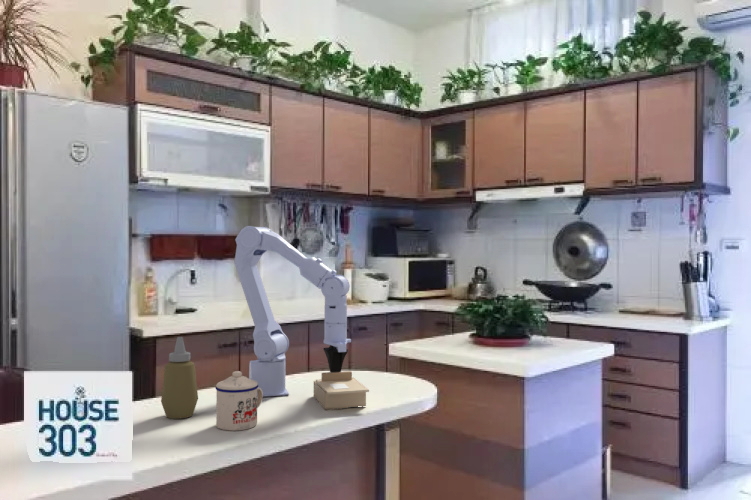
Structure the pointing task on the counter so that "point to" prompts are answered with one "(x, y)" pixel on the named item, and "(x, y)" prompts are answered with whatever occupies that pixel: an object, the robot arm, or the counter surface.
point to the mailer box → (338, 399)
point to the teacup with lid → (237, 402)
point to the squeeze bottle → (179, 384)
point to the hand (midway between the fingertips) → (335, 375)
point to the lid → (340, 383)
